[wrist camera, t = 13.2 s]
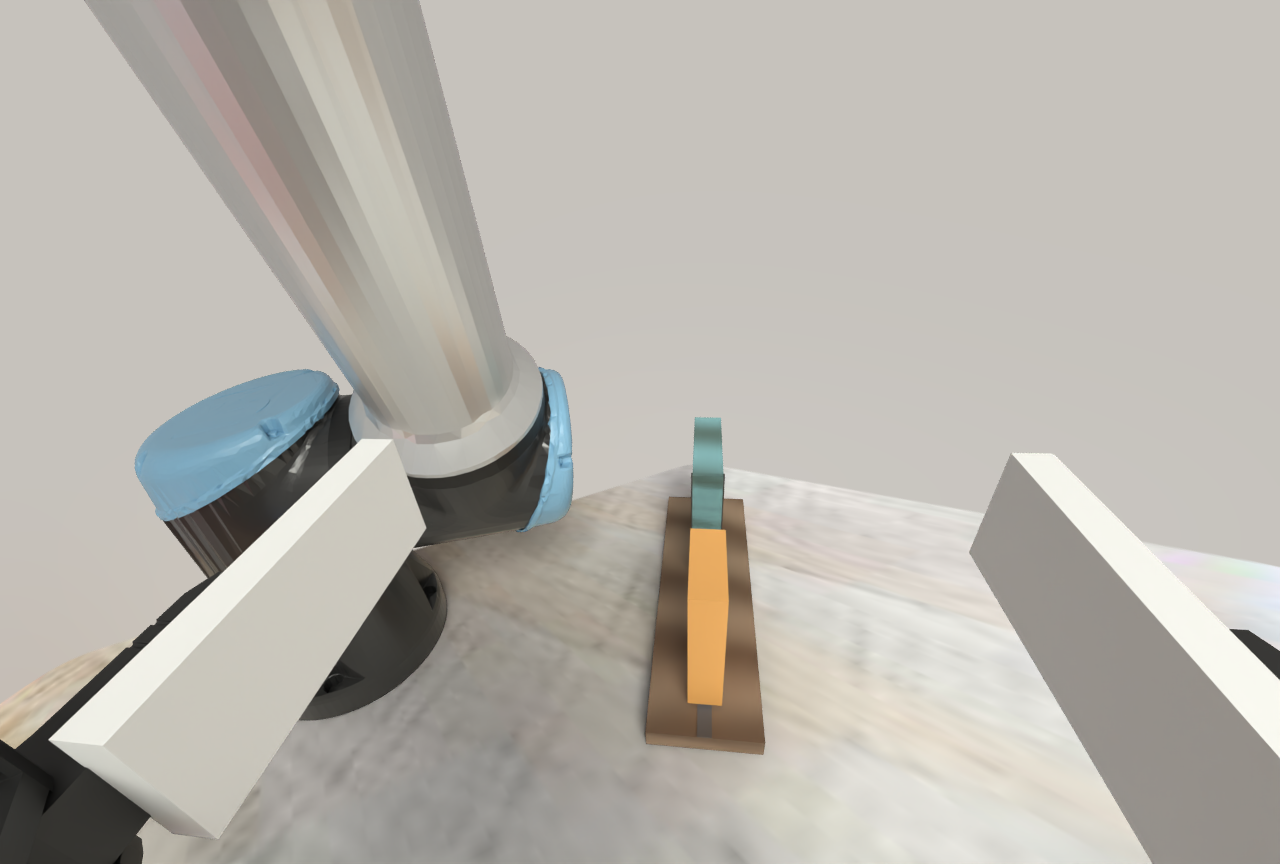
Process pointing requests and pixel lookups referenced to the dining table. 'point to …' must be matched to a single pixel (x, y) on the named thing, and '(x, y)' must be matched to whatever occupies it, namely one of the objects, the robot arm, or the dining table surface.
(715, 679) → the stub
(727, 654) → the ticket stand
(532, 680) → the dining table surface
